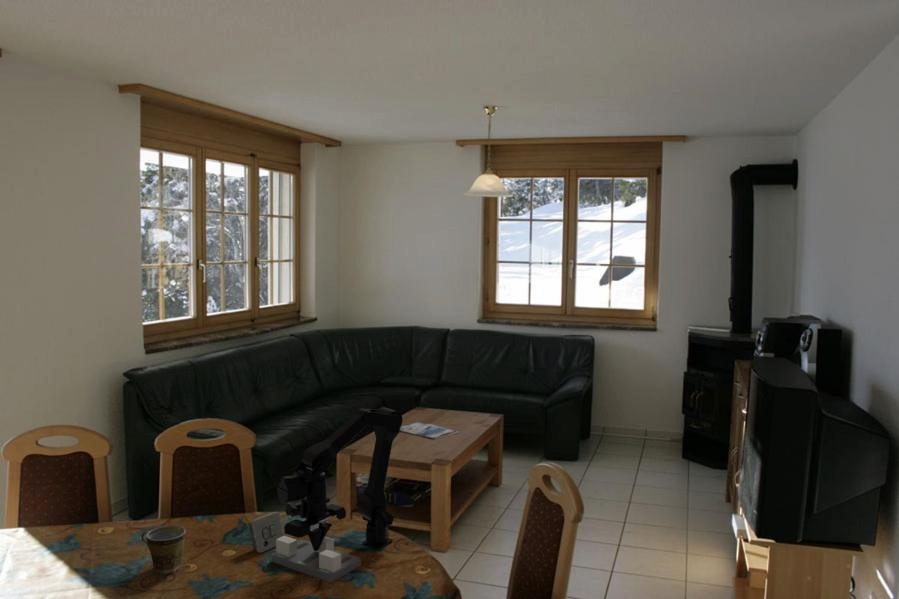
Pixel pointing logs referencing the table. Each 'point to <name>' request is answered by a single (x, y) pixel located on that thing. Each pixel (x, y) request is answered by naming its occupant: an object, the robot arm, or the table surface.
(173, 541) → the ceramic cup
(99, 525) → the table surface
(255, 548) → the electrical switch
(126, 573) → the table surface
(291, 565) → the breaker panel
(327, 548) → the handle
